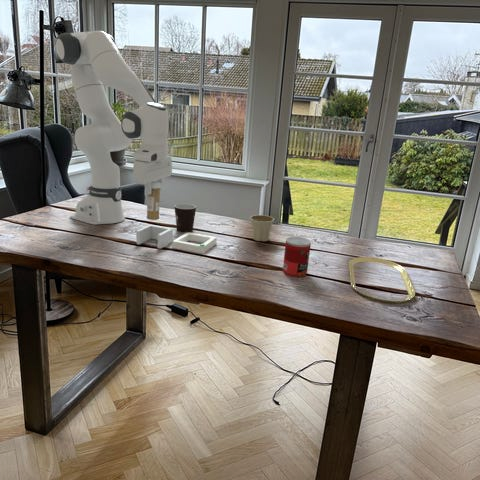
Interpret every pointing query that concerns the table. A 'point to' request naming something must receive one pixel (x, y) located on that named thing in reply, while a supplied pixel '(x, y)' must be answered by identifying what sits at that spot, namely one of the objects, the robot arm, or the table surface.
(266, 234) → the flower pot
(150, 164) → the robot arm
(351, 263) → the gold ring
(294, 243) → the canned food
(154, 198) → the sprinkles bottle
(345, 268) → the table surface
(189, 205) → the dark brown cup
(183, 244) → the block
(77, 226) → the table surface
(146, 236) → the bracket
